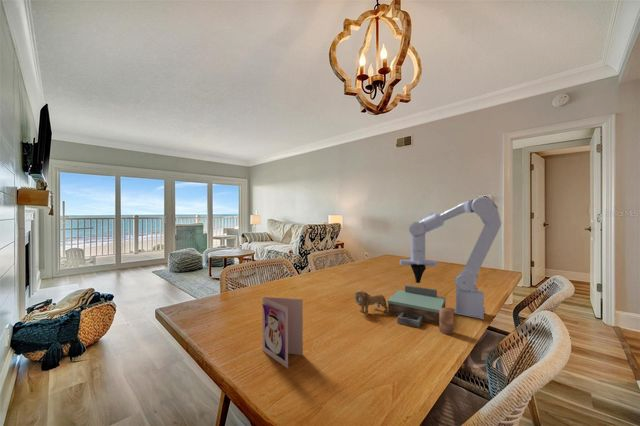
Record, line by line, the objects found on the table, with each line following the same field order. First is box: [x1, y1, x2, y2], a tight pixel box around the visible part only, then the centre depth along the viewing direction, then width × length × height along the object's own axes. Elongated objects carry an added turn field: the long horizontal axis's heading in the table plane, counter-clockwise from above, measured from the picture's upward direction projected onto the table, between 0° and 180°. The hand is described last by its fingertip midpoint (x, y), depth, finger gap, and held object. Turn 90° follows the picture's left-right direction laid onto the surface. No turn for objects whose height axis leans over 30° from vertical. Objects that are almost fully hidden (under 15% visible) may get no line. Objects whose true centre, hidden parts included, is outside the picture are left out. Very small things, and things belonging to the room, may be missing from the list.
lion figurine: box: [354, 289, 388, 316], centre depth 99 cm, size 15×5×9 cm, turn 112°
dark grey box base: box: [387, 301, 446, 329], centre depth 96 cm, size 18×21×4 cm
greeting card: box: [261, 296, 304, 369], centre depth 70 cm, size 11×7×15 cm, turn 45°
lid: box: [386, 285, 446, 313], centre depth 99 cm, size 18×15×4 cm
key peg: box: [438, 307, 454, 336], centre depth 83 cm, size 4×4×7 cm
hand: (417, 282), depth 109 cm, fingers closed
